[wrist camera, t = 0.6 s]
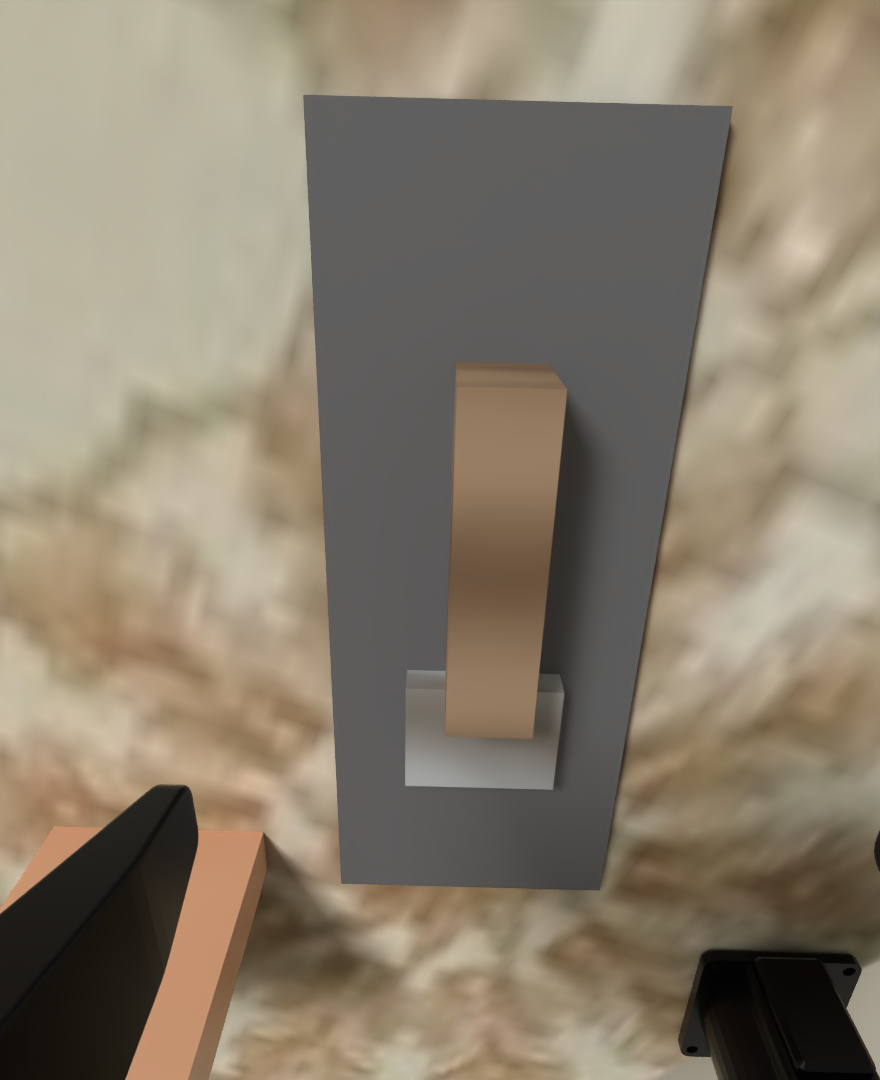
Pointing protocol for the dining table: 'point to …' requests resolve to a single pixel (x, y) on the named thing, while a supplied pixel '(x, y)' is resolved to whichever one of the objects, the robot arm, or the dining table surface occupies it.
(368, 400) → the mat
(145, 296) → the dining table surface
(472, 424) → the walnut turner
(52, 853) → the terracotta tile
